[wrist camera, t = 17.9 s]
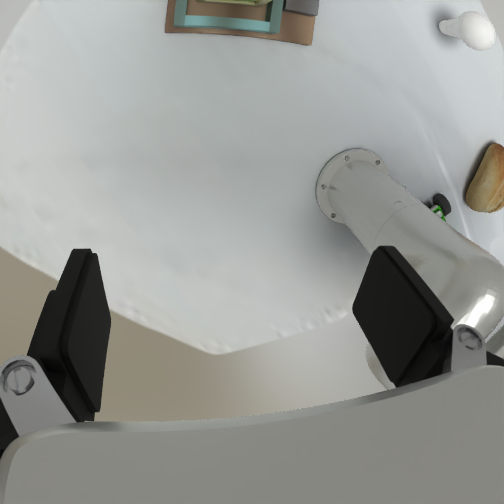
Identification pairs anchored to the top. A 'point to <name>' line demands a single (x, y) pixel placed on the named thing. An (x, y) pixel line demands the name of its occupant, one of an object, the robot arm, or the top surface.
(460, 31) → the lightbulb
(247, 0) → the beige long rectangular block
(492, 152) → the bread roll
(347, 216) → the robot arm
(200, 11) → the board
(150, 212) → the top surface
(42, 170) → the top surface
